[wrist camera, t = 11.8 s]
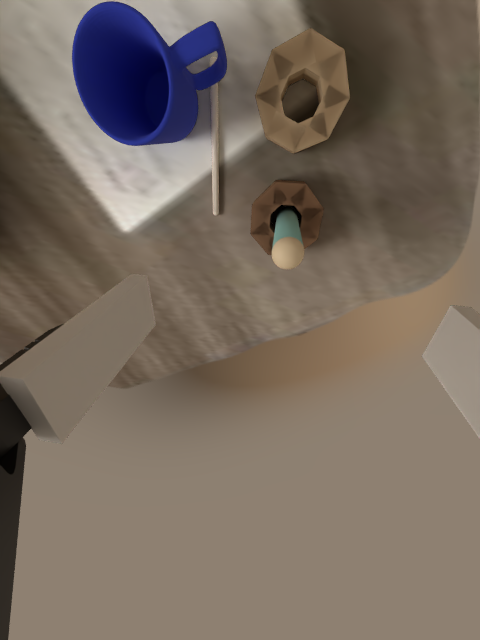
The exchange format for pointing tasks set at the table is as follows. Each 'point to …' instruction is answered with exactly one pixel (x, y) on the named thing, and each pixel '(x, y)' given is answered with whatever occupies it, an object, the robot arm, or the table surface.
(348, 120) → the table surface
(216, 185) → the thin beige rod
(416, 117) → the table surface
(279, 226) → the teal rod
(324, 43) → the maple bead
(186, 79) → the mug
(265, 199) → the walnut bead
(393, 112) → the table surface
